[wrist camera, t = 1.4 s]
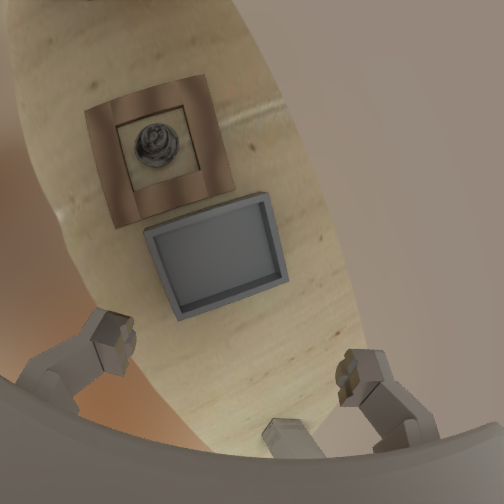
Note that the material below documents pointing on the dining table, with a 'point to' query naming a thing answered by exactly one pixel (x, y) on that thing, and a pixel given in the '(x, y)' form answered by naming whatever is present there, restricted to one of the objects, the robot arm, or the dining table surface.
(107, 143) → the socket block
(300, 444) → the skincare box
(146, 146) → the dark piece
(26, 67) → the dining table surface
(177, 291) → the parts tray
